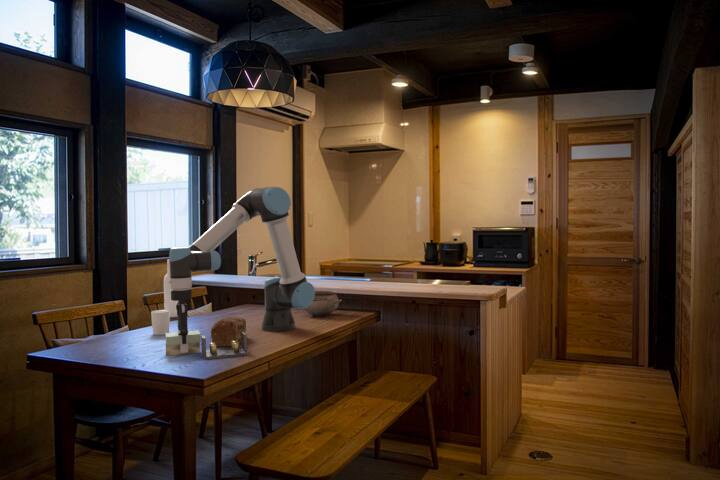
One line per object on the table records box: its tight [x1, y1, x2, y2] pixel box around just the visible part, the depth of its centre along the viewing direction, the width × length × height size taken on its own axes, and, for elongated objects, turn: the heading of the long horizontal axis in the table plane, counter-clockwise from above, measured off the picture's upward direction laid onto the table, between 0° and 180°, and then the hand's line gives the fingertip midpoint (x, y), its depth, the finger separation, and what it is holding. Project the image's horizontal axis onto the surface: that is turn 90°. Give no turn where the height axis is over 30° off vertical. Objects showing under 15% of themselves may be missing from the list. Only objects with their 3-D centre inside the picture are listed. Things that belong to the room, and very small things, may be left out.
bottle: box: [163, 259, 178, 318], centre depth 305 cm, size 8×8×30 cm
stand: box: [165, 342, 201, 357], centre depth 216 cm, size 12×3×4 cm, turn 111°
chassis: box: [200, 332, 249, 361], centre depth 213 cm, size 16×12×7 cm
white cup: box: [150, 309, 171, 336], centre depth 257 cm, size 8×8×10 cm
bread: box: [210, 316, 247, 347], centre depth 235 cm, size 19×11×10 cm, turn 179°
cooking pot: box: [303, 289, 343, 318], centre depth 298 cm, size 25×19×12 cm
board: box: [164, 329, 202, 345], centre depth 216 cm, size 12×8×3 cm, turn 111°
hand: (183, 350), depth 216 cm, fingers closed on board, 8 cm apart
